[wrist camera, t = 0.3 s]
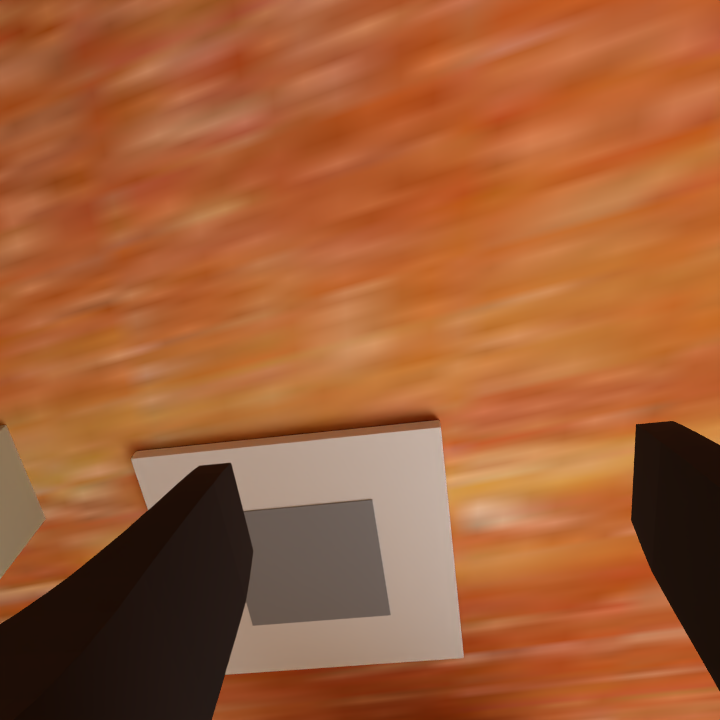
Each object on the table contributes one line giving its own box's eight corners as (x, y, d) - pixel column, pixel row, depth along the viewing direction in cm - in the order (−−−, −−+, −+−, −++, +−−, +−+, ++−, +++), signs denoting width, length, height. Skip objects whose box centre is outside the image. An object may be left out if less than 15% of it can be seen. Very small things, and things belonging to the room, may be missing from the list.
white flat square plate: (462, 647, 26) (463, 659, 26) (207, 666, 27) (204, 677, 27) (439, 419, 22) (441, 428, 21) (135, 451, 23) (130, 459, 22)
